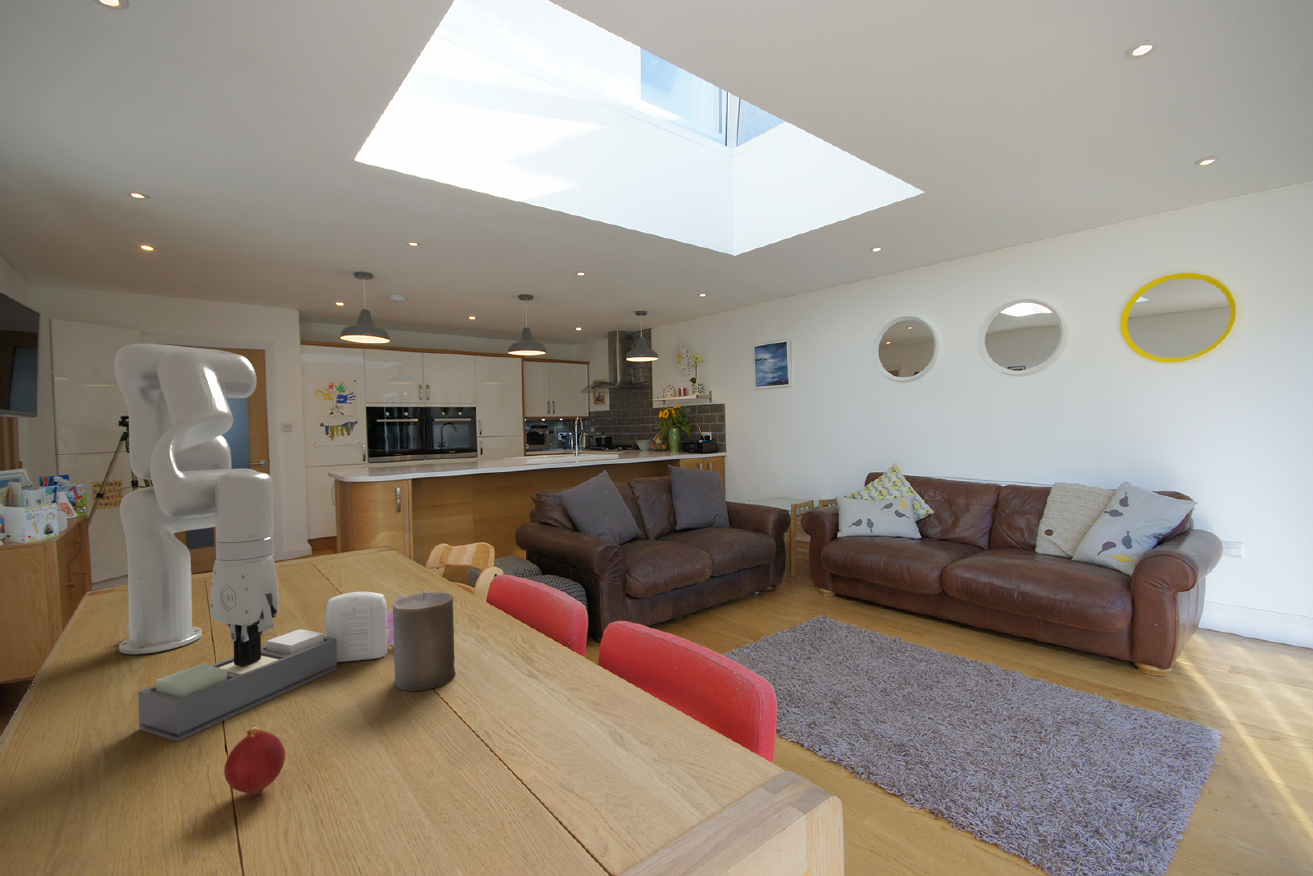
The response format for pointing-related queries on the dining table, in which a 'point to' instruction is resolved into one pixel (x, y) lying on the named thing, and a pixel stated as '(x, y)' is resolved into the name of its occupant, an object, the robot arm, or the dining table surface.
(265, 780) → the onion
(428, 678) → the pillar candle
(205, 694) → the grey compartment tray
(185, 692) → the key sage
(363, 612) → the photo printer
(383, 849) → the dining table surface
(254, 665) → the key sand
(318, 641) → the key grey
